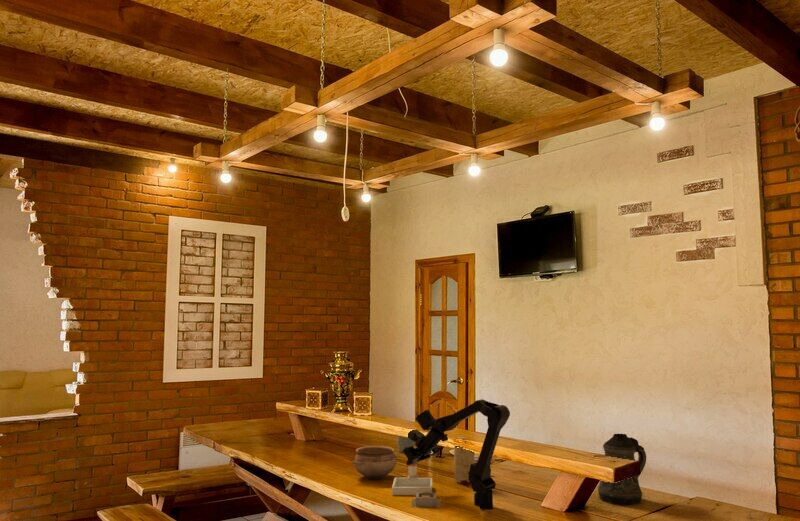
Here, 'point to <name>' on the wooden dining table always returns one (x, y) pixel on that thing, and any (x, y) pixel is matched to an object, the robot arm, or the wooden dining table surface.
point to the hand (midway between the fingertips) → (410, 463)
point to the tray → (411, 486)
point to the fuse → (412, 472)
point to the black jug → (628, 488)
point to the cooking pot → (375, 461)
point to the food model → (462, 462)
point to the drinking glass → (404, 443)
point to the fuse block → (426, 500)
